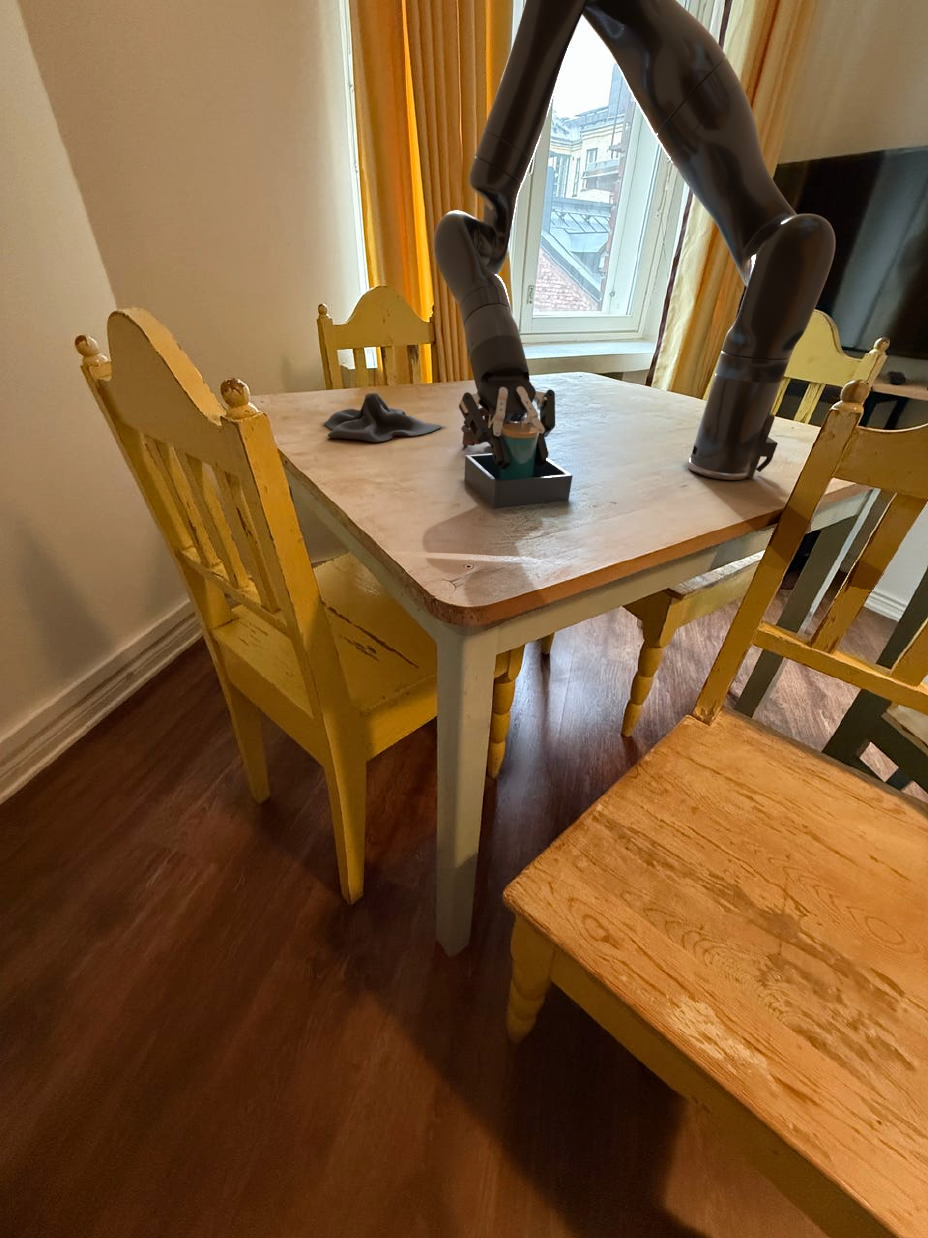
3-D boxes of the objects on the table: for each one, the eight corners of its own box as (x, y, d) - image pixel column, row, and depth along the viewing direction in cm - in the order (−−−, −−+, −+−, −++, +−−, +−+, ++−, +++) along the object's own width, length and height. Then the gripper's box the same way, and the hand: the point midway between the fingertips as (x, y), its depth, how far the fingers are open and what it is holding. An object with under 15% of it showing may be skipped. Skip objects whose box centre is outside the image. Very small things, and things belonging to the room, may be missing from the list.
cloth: (334, 447, 88) (330, 408, 84) (312, 419, 101) (307, 385, 98) (454, 435, 96) (455, 400, 92) (418, 411, 110) (418, 380, 106)
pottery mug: (525, 463, 86) (506, 420, 81) (473, 481, 90) (452, 442, 84) (525, 425, 94) (507, 384, 88) (478, 444, 97) (458, 405, 92)
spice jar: (531, 483, 76) (538, 423, 71) (533, 496, 72) (541, 433, 67) (496, 482, 76) (501, 421, 71) (497, 495, 72) (502, 432, 67)
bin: (532, 475, 80) (535, 449, 78) (568, 503, 71) (572, 475, 69) (464, 482, 76) (465, 455, 74) (493, 512, 68) (495, 482, 66)
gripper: (453, 332, 66) (482, 455, 64) (552, 332, 71) (583, 447, 68) (440, 370, 73) (466, 482, 71) (531, 367, 78) (558, 473, 76)
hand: (523, 464), depth 70 cm, fingers closed on spice jar, 4 cm apart
